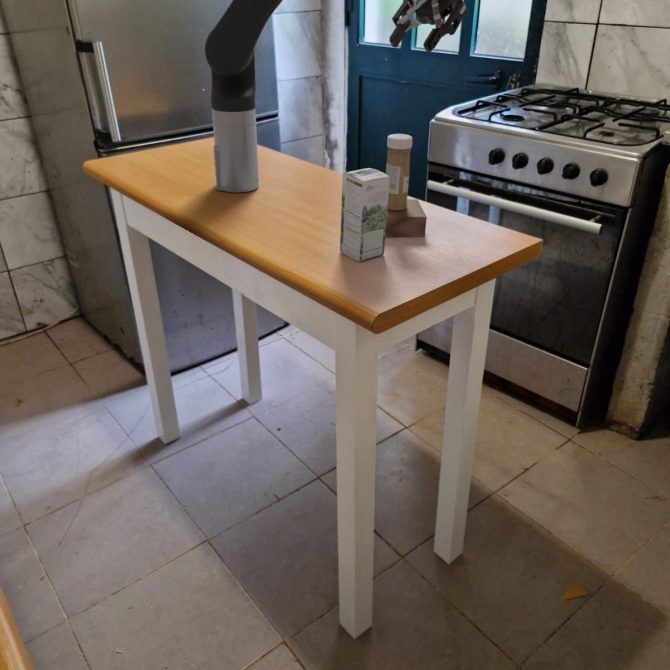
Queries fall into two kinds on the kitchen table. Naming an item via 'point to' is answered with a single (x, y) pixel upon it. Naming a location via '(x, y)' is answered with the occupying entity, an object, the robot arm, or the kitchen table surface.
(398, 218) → the plinth
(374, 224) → the syrup box
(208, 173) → the kitchen table surface
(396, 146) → the sprinkles bottle
